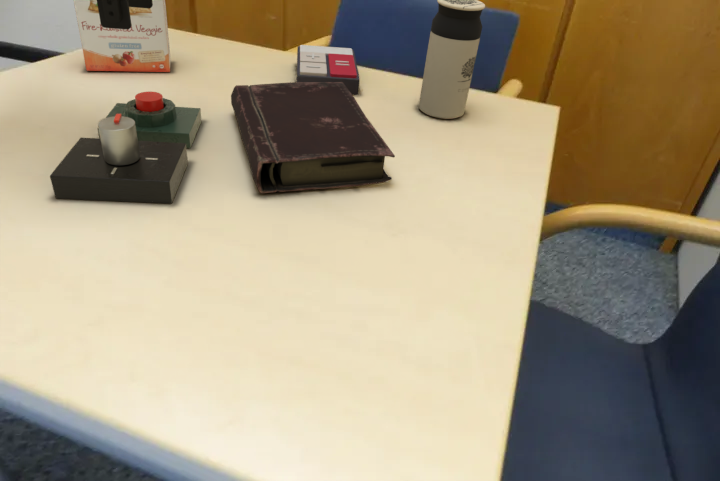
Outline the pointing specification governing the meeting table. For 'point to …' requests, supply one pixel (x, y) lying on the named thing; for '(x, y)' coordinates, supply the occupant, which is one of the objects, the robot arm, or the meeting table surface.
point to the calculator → (328, 66)
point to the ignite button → (149, 101)
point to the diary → (307, 137)
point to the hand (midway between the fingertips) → (128, 16)
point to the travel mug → (451, 58)
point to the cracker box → (125, 39)
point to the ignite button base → (162, 122)
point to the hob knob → (119, 140)
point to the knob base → (121, 173)
